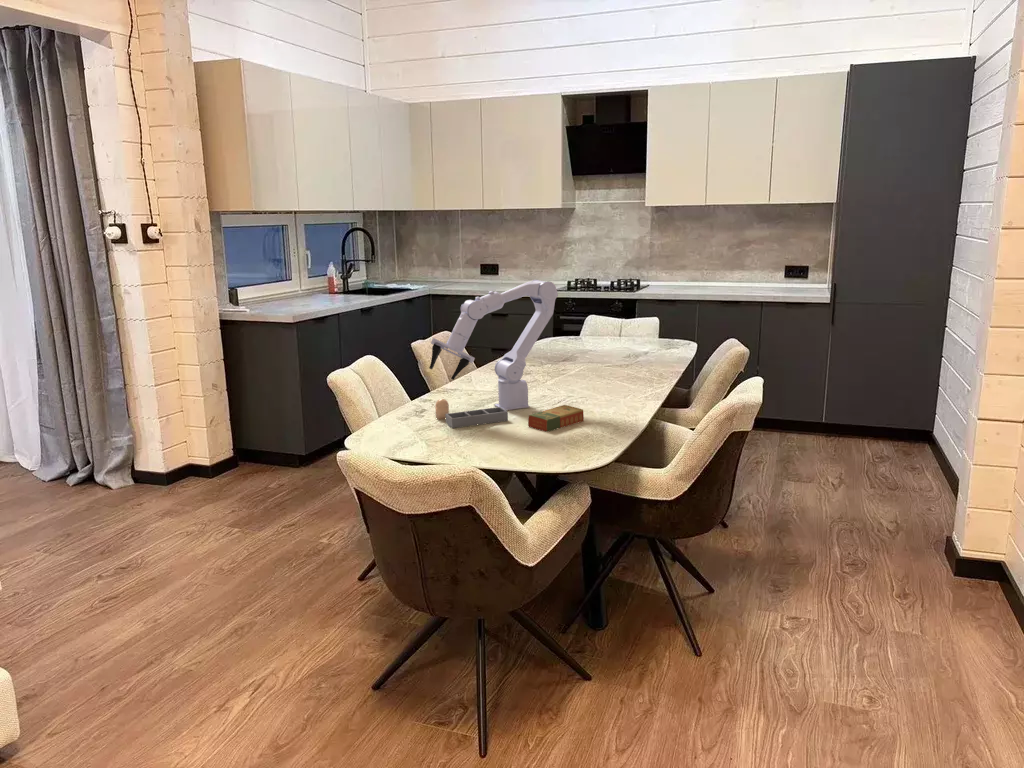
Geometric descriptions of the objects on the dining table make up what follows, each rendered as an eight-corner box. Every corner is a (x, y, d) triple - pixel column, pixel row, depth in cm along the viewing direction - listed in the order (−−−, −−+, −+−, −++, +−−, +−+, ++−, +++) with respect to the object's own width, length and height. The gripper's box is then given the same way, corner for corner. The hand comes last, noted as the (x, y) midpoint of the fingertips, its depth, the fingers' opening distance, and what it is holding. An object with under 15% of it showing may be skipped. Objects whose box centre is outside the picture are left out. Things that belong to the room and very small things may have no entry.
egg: (446, 415, 241) (446, 396, 239) (450, 418, 237) (450, 399, 235) (434, 416, 239) (433, 398, 238) (438, 420, 235) (437, 401, 234)
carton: (584, 422, 230) (584, 408, 229) (547, 433, 220) (547, 419, 219) (564, 417, 236) (564, 404, 235) (527, 427, 226) (527, 413, 225)
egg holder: (500, 415, 238) (500, 406, 237) (507, 420, 232) (507, 411, 232) (445, 423, 231) (445, 413, 231) (452, 428, 226) (451, 418, 225)
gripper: (438, 324, 232) (418, 363, 232) (479, 344, 231) (460, 383, 231) (441, 326, 239) (422, 364, 239) (481, 346, 238) (463, 384, 238)
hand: (441, 374), depth 235 cm, fingers open, 7 cm apart
